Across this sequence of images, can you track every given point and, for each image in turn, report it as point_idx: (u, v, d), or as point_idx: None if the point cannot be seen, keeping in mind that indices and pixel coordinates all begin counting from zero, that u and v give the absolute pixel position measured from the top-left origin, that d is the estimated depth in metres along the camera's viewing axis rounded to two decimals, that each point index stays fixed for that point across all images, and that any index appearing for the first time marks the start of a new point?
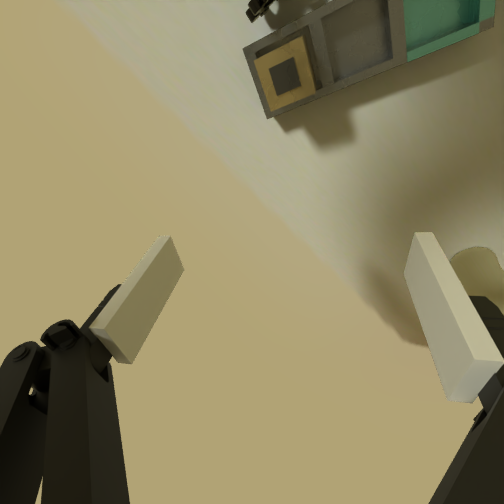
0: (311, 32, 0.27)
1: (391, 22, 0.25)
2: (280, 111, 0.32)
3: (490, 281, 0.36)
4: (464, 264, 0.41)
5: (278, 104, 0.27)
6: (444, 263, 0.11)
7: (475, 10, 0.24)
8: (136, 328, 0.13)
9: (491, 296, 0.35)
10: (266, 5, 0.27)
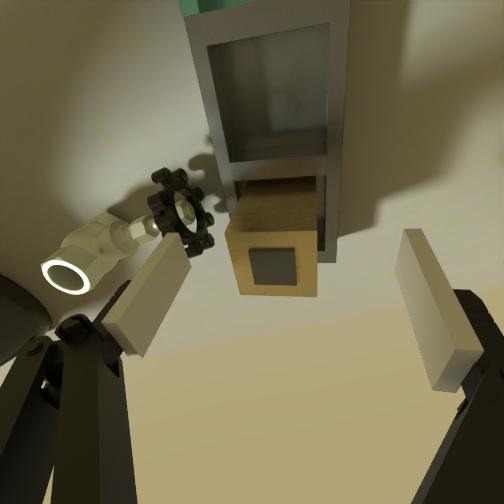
0: (243, 178, 0.17)
1: (264, 30, 0.12)
2: (333, 243, 0.19)
3: None
4: None
5: (310, 285, 0.15)
6: (431, 258, 0.11)
7: None
8: (146, 323, 0.13)
9: None
10: (202, 220, 0.21)
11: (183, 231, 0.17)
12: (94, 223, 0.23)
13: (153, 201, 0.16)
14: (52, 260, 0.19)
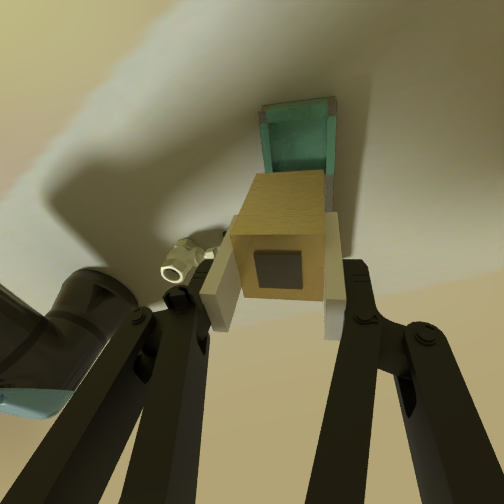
0: None
1: None
2: None
3: None
4: None
5: (317, 289, 0.15)
6: (335, 235, 0.14)
7: None
8: (230, 298, 0.14)
9: None
10: None
11: None
12: (182, 245, 0.42)
13: None
14: (168, 266, 0.38)
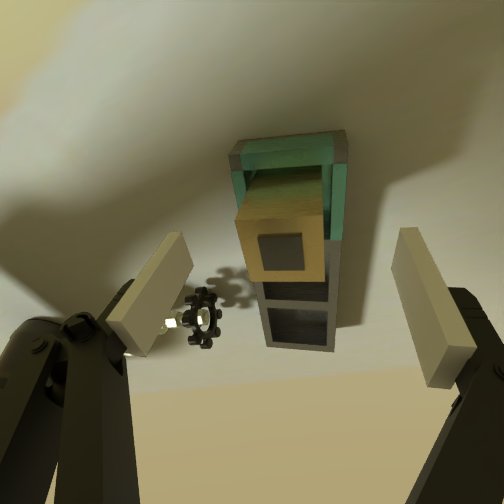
0: (273, 307, 0.26)
1: None
2: (332, 342, 0.28)
3: None
4: None
5: (318, 269, 0.16)
6: (426, 257, 0.11)
7: None
8: (150, 322, 0.13)
9: None
10: (214, 318, 0.31)
11: (201, 337, 0.28)
12: None
13: (185, 322, 0.26)
14: None
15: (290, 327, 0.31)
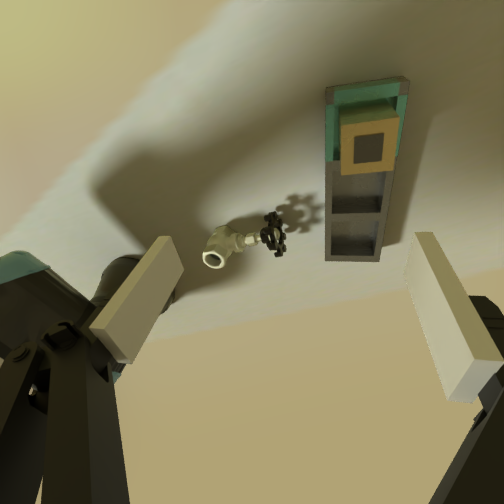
0: (337, 220, 0.35)
1: None
2: (379, 252, 0.37)
3: None
4: None
5: (390, 160, 0.25)
6: (444, 263, 0.11)
7: None
8: (136, 328, 0.13)
9: None
10: (281, 237, 0.40)
11: (277, 245, 0.37)
12: (221, 231, 0.43)
13: (267, 231, 0.36)
14: (210, 251, 0.39)
15: (343, 246, 0.40)
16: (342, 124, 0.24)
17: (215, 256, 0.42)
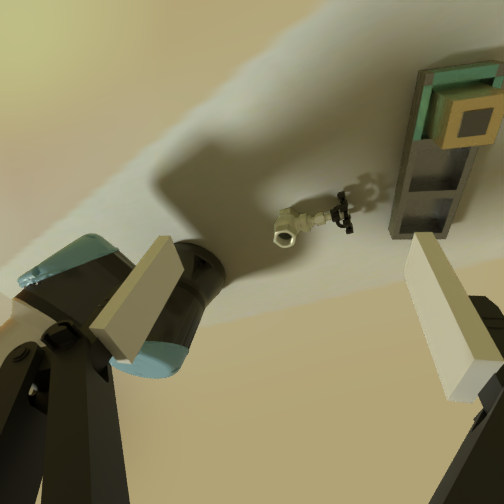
0: (412, 198, 0.38)
1: None
2: (447, 229, 0.40)
3: None
4: None
5: (492, 134, 0.27)
6: (444, 263, 0.11)
7: None
8: (136, 328, 0.13)
9: None
10: (348, 216, 0.42)
11: None
12: (287, 213, 0.45)
13: (343, 208, 0.38)
14: (283, 230, 0.41)
15: (408, 226, 0.43)
16: (453, 100, 0.26)
17: (282, 237, 0.45)
